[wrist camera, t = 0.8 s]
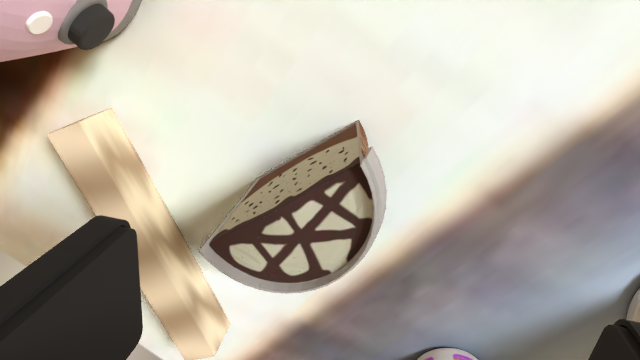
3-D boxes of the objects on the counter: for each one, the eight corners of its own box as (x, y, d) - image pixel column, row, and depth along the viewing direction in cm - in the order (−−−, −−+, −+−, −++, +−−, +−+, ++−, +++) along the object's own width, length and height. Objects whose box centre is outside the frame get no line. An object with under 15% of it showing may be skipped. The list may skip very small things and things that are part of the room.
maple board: (230, 323, 41) (214, 355, 38) (203, 329, 42) (185, 361, 39) (111, 107, 34) (78, 122, 31) (82, 119, 35) (46, 134, 31)
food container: (285, 244, 37) (251, 327, 28) (243, 185, 35) (191, 254, 26) (417, 178, 33) (428, 251, 24) (376, 109, 31) (370, 159, 22)
